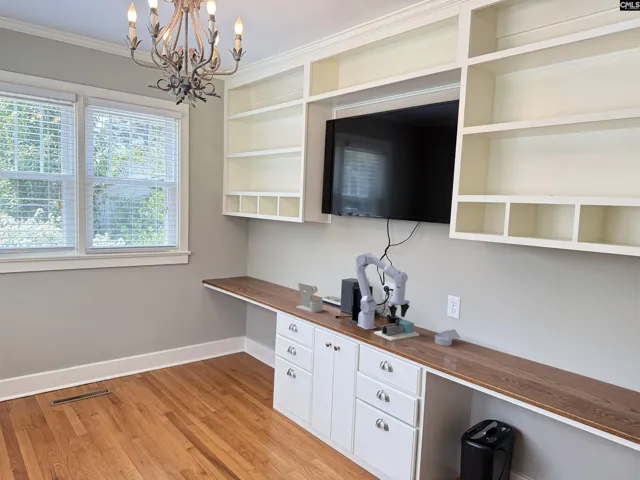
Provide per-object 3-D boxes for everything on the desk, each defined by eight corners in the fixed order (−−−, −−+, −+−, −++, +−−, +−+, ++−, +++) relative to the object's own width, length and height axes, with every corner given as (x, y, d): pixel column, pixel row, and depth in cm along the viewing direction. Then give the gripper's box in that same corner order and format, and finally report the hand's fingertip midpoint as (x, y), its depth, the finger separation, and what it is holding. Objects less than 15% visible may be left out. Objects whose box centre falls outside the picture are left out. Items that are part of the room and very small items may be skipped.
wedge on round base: (447, 338, 251) (430, 341, 244) (448, 327, 250) (431, 329, 244) (460, 343, 243) (443, 346, 237) (461, 331, 243) (444, 334, 236)
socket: (397, 330, 258) (397, 321, 257) (404, 329, 261) (405, 319, 261) (405, 333, 252) (406, 324, 252) (413, 332, 256) (414, 323, 255)
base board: (374, 333, 253) (374, 331, 253) (401, 328, 265) (402, 327, 265) (391, 340, 241) (391, 338, 241) (419, 335, 254) (419, 333, 254)
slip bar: (393, 330, 253) (393, 319, 253) (405, 328, 259) (406, 317, 258) (396, 332, 251) (397, 320, 250) (409, 330, 257) (410, 319, 256)
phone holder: (324, 310, 297) (325, 284, 296) (313, 313, 290) (315, 285, 288) (305, 305, 309) (307, 279, 308) (295, 307, 302) (296, 281, 300)
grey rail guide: (381, 333, 250) (382, 325, 249) (394, 331, 255) (395, 323, 255) (387, 336, 246) (388, 327, 245) (400, 333, 251) (401, 325, 251)
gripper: (395, 296, 244) (393, 320, 245) (413, 294, 252) (412, 317, 253) (386, 293, 249) (384, 317, 251) (405, 291, 258) (403, 314, 259)
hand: (397, 317), depth 252 cm, fingers open, 7 cm apart
